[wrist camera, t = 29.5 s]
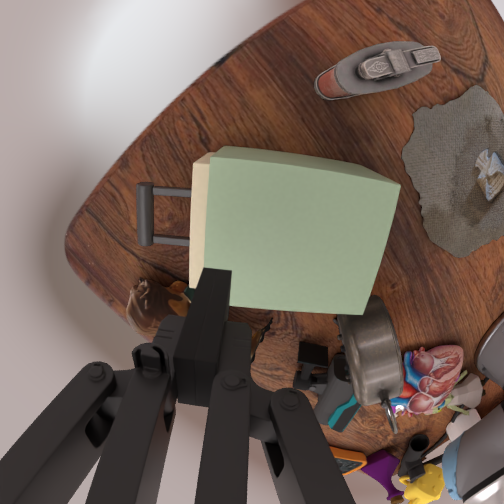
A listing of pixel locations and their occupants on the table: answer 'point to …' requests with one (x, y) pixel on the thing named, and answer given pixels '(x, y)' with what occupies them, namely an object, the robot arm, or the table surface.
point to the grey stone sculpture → (459, 171)
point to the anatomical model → (428, 378)
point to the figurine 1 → (166, 307)
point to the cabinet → (296, 229)
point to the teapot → (424, 486)
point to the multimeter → (348, 460)
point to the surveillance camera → (327, 386)
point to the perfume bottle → (384, 473)
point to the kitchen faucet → (416, 458)
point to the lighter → (376, 69)
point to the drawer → (197, 219)
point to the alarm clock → (372, 356)
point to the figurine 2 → (463, 394)
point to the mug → (462, 424)
